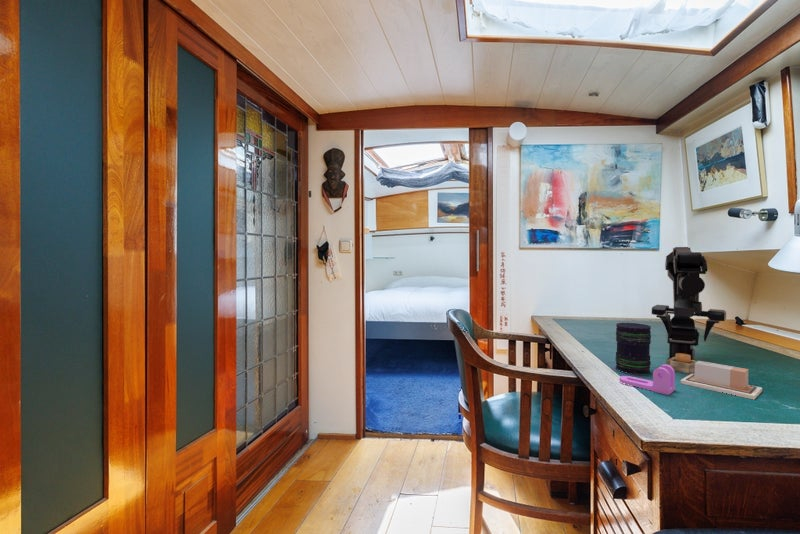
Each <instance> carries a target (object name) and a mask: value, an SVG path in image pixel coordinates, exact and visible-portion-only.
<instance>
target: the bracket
mask: <svg viewBox="0 0 800 534" xmlns="http://www.w3.org/2000/svg"><path fill="white" fill-rule="evenodd" d="M675 372H676V371H674V369H673V368H672V367H671V366H670V365H667V364H662V365H660V366H659V367H656V368H655V369H654V370H653V372H652V380H649V379H645V378H642V377H641V378H640V377H634V376H629V375H621V376H619V379H618V380H620V382H622V383H625V384H629V385H632V386H636V387H639V388H638V389H641V388H643V389H642V390H645V389H647V390H646V391H649V390H651V391H650V392H653V393H654V392H655V393H659V394H661V395H662V394H663V395H668V396H669V395H671V394H672V393H673V392H674V391H676V390H675V387H676V386H675V385H676V384H675V383H676V381H675V380H676V379H675V378H676V377H675V375H676V373H675ZM620 382H619V383H620ZM622 383H621V384H622ZM632 386H631V387H632ZM636 387H635V388H636Z"/></svg>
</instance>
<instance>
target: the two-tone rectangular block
mask: <svg viewBox="0 0 800 534" xmlns="http://www.w3.org/2000/svg"><path fill="white" fill-rule="evenodd" d="M697 361H698V362H696V363H695V373H694V380H696V381H701V382H706V383H710V384H715V385H720V386H725V387H729V388H734V389H739V390H744V391H745V390H746V389H747V388H748V385H749V372H750V371H749V369H748V368H743V367H739V366H738V367H736V366H733V365H731V366H730V365H726V364H721V363H714V362H709V361H703V360H697Z"/></svg>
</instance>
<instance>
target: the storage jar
mask: <svg viewBox="0 0 800 534" xmlns="http://www.w3.org/2000/svg"><path fill="white" fill-rule="evenodd" d="M615 326H616V329H615V340H616V352H615V365H616V366H615V369H616V370H617V369H618V370H620V371H623V372H622V373H624V372H627V373H626V374H628V373H632V374H631V375H634V374H648V375H650V374H651V363H652V361H651V355H650V352H651V351H650V346H651V344H652V340H651V339H652V334H651V329H652V328H651V326H652V325H648V324H643V323H637V322H617V323H616V324H615ZM618 370H617V371H618ZM620 371H619V372H620ZM649 373H650V374H649Z"/></svg>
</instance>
